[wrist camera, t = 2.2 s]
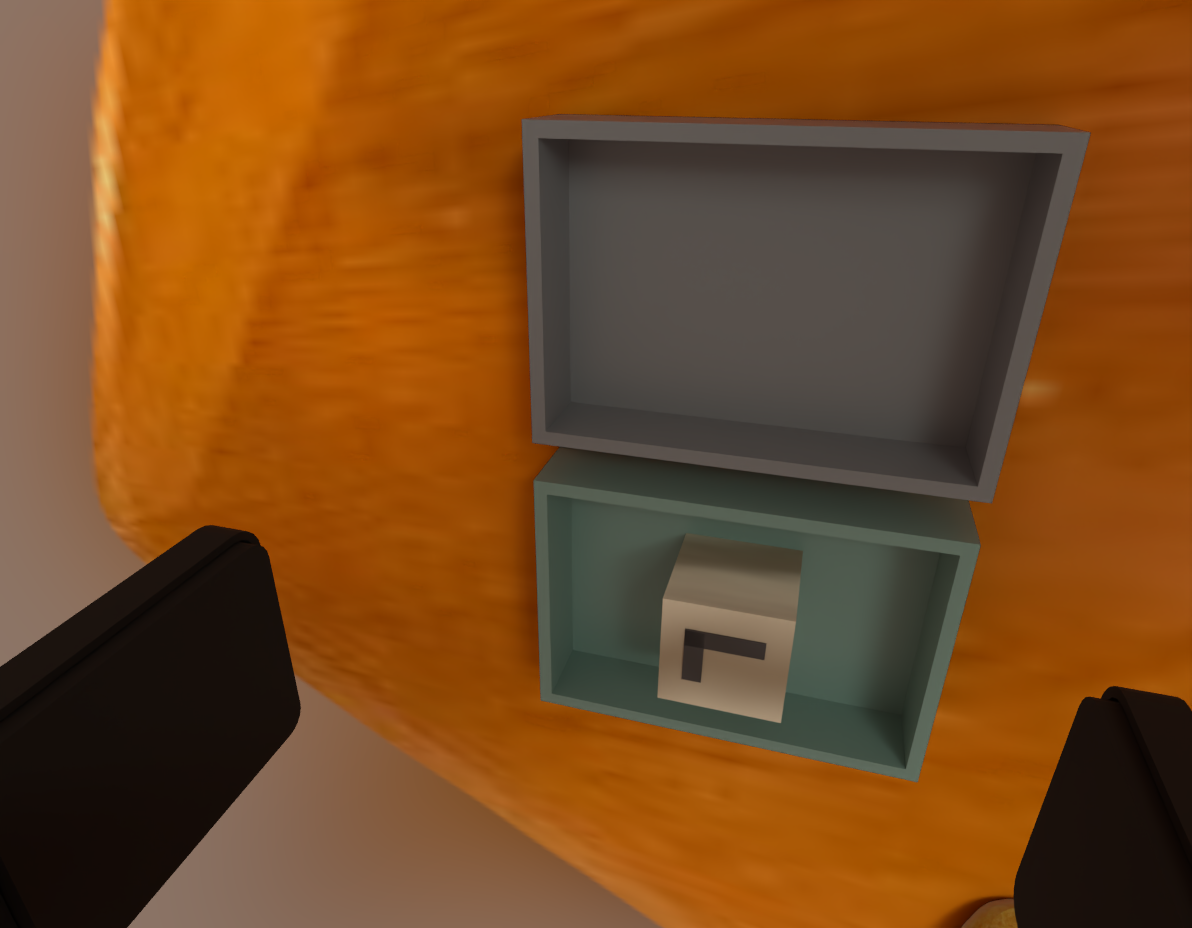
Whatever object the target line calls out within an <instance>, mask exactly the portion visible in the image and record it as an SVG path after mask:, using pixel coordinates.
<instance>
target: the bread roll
mask: <svg viewBox="0 0 1192 928" xmlns="http://www.w3.org/2000/svg"><path fill="white" fill-rule="evenodd" d="M961 928H1018V927H1017V922H1016V917H1015V910H1014V899H1002V900H996V901H991V902H988V903H986V904H985V905H983V906H982V907H980V908H979V909H978V910H977V911H976V912H975V913H974V914H973V915H972V916H971V917H970V918H969V919H968V920H967V921H966V922H965V923H964V925H963V926H962V927H961Z"/></svg>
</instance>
